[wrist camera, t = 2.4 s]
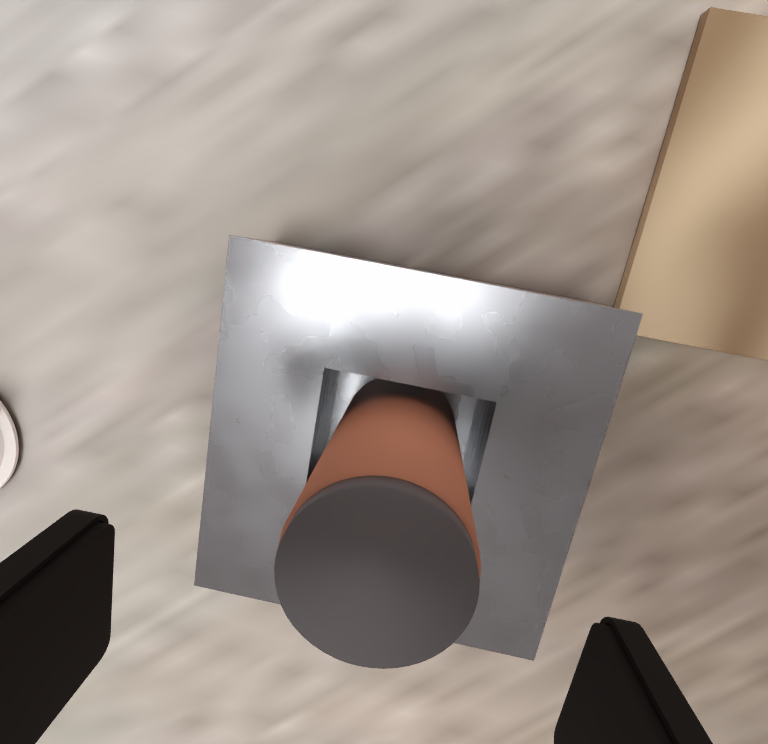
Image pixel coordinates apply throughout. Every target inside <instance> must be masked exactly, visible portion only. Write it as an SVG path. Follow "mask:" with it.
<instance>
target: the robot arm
mask: <svg viewBox="0 0 768 744" xmlns="http://www.w3.org/2000/svg"><path fill="white" fill-rule="evenodd" d="M114 539H115V529H114V526H113V525H110V524H108V519H107V517H106V516H105V515H101V514H97V513H92V512H87V511H82V510H72V511H70V512H68V513H67V514H65V515H64V516H63V517H61V518H60V519H59V520H57V521H56V522H55V523H53V524H52V525H51V526H49V527H48V528H47V529H45V530H44V531H42V532H41V533H40V534H38V535H37V536H36V537H34V538H33V539H32V540H30V541H29V542H28V543H26V544H25V545H24V546H22V547H21V548H20V549H18V550H17V551H16V552H14V553H13V554H11V555H10V556H9V557H7V558H6V559H5V560H3V561H2V562H1V563H0V744H35V743H36V742H37V741H38V739H39V738H40V737H41V736H42V734H43V733H44V732H45V730H46V729H47V728H48V727H49V725H50V724H51V723H52V721H53V720H54V719H55V718H56V716H57V715H58V714H59V712H60V711H61V710H62V709H63V707H64V706H65V705H66V703H67V702H68V701H69V700H70V698H71V697H72V696H73V694H74V693H75V692H76V691H77V689H78V688H79V687H80V685H81V684H82V683H83V682H84V680H85V679H86V678H87V677H88V675H89V674H90V673H91V671H92V670H93V669H94V668H95V666H96V665H97V664H98V662H99V661H100V660H101V658H102V657H103V655H104V653H105V651H106V649H107V647H108V644H109V641H110V633H111V610H112V586H113V563H114ZM554 744H713V743H712V742H711V740H710V738H709V737H708V735H707V733H706V732H705V730H704V728H703V727H702V725H701V723H700V722H699V720H698V719H697V717H696V715H695V714H694V712H693V710H692V709H691V707H690V705H689V704H688V702H687V700H686V699H685V697H684V695H683V694H682V692H681V691H680V689H679V687H678V686H677V684H676V682H675V681H674V679H673V677H672V676H671V674H670V672H669V671H668V669H667V667H666V666H665V664H664V662H663V661H662V659H661V658H660V656H659V654H658V653H657V651H656V649H655V648H654V646H653V644H652V643H651V641H650V639H649V638H648V636H647V634H646V633H645V631H644V630H643V628H642V627H641V626H640V624H638V623H636V622H631V621H626V620H621V619H616V618H612V617H604V618H603V619H602V620H601V622H600V623H594V624H593V625H592V627H591V629H590V631H589V634H588V637H587V640H586V643H585V646H584V648H583V651H582V654H581V657H580V660H579V663H578V665H577V668H576V671H575V674H574V677H573V680H572V682H571V685H570V688H569V691H568V694H567V697H566V699H565V702H564V705H563V708H562V711H561V713H560V716H559V719H558V722H557V725H556V728H555V732H554Z"/></svg>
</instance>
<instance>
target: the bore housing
mask: <svg viewBox="0 0 768 744" xmlns="http://www.w3.org/2000/svg"><path fill="white" fill-rule="evenodd" d="M642 315H643V314H642V313H638V312H634V311H629V310H625V309H621V308H616V307H612V306H608V305H603V304H599V303H595V302H590V301H585V300H580V299H574V298H569V297H564V296H559V295H553V294H548V293H543V292H537V291H532V290H527V289H522V288H516V287H511V286H506V285H501V284H495V283H490V282H485V281H479V280H474V279H469V278H464V277H458V276H453V275H448V274H442V273H437V272H432V271H427V270H421V269H416V268H411V267H406V266H400V265H395V264H390V263H384V262H379V261H374V260H369V259H363V258H358V257H353V256H347V255H342V254H337V253H332V252H326V251H321V250H316V249H311V248H305V247H300V246H295V245H289V244H284V243H279V242H273V241H266V240H259V239H252V238H245V237H238V236H231V235H229V245H228V255H227V264H226V274H225V284H224V294H223V304H222V314H221V324H220V334H219V344H218V354H217V364H216V374H215V384H214V394H213V404H212V413H211V423H210V433H209V443H208V453H207V463H206V473H205V483H204V493H203V503H202V513H201V523H200V533H199V543H198V552H197V562H196V572H195V582H194V585H195V586H200V587H204V588H209V589H213V590H218V591H222V592H227V593H231V594H236V595H240V596H245V597H249V598H254V599H258V600H263V601H267V602H272V603H276V604H281V603H280V601H279V598H278V595H277V591H276V587H275V579H274V565H275V557H276V553H277V549H278V544H279V540H280V535H281V532H282V529H283V527H284V524H285V522H286V520H287V518H288V516H289V514H290V513H291V511H292V509H293V507H294V505H295V503H296V501H297V500H298V498H299V496H300V494H301V492H302V490H303V488H304V487H305V485H306V483H307V481H308V479H309V477H310V476H311V474H312V472H313V470H314V468H315V466H316V464H317V463H318V461H319V459H320V457H321V455H322V453H323V452H324V450H325V448H326V446H327V444H328V442H329V440H330V439H331V437H332V435H333V433H334V431H335V429H336V428H337V426H338V424H339V422H340V420H341V418H342V416H343V415H344V413H345V411H346V409H347V407H348V405H349V404H350V402H351V400H352V398H353V397H354V395H355V394H356V393H357V392H358V391H359V390H360V389H361V388H362V387H363V386H364V385H366V384H367V383H368V382H370V381H372V380H374V379H376V378H378V379H383V380H388V381H393V382H398V383H403V384H408V385H413V386H419V387H424V388H429V389H434V390H439V391H440V392H441V393H442V394H443V395H444V396H445V398H446V399H447V401H448V402H449V404H450V406H451V409H452V411H453V414H454V418H455V424H456V429H457V434H458V439H459V445H460V450H461V455H462V461H463V466H464V471H465V477H466V482H467V487H468V493H469V498H470V503H471V508H472V514H473V519H474V524H475V530H476V535H477V540H478V546H479V551H480V559H481V577H480V586H479V597H478V602H477V606H476V609H475V612H474V614H473V617H472V619H471V620H470V622H469V624H468V626H467V627H466V629H465V630H464V632H463V633H462V634H461V636H460V637H459V638H458V639H457V640H456V641H455V642H454V643H457V644H461V645H466V646H470V647H475V648H479V649H484V650H489V651H493V652H498V653H502V654H507V655H511V656H516V657H520V658H525V659H529V660H534V658H535V655H536V652H537V649H538V646H539V642H540V639H541V636H542V633H543V630H544V627H545V623H546V620H547V617H548V614H549V611H550V608H551V604H552V601H553V598H554V595H555V592H556V588H557V585H558V582H559V579H560V576H561V573H562V569H563V566H564V563H565V560H566V557H567V554H568V550H569V547H570V544H571V541H572V538H573V535H574V531H575V528H576V525H577V522H578V519H579V515H580V512H581V509H582V506H583V503H584V500H585V496H586V493H587V490H588V487H589V484H590V481H591V477H592V474H593V471H594V468H595V465H596V461H597V458H598V455H599V452H600V449H601V446H602V442H603V439H604V436H605V433H606V430H607V427H608V423H609V420H610V417H611V414H612V411H613V408H614V404H615V401H616V398H617V395H618V392H619V388H620V385H621V382H622V379H623V376H624V373H625V369H626V366H627V363H628V360H629V357H630V354H631V350H632V347H633V344H634V341H635V338H636V334H637V331H638V328H639V325H640V322H641V319H642Z"/></svg>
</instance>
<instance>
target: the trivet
mask: <svg viewBox="0 0 768 744" xmlns="http://www.w3.org/2000/svg"><path fill="white" fill-rule="evenodd" d="M614 307H616V308H621V309H625V310H629V311H634V312H638V313H642V314H643V315H642V319H641V322H640V325H639V328H638V331H637V334H636V335H638V336H643V337H648V338H653V339H659V340H664V341H669V342H674V343H679V344H685V345H690V346H695V347H700V348H706V349H711V350H716V351H721V352H726V353H732V354H737V355H742V356H747V357H753V358H758V359H763V360H768V16H762V15H755V14H749V13H743V12H737V11H731V10H725V9H718V8H712V7H710V8H709V9H708V10H707V11H706V12H705V13H703V14H702V15H701V17H700V21H699V24H698V27H697V31H696V34H695V37H694V41H693V44H692V48H691V51H690V54H689V58H688V61H687V64H686V68H685V71H684V74H683V78H682V81H681V84H680V88H679V91H678V94H677V98H676V101H675V104H674V108H673V111H672V114H671V118H670V121H669V124H668V128H667V131H666V134H665V138H664V141H663V144H662V148H661V151H660V155H659V158H658V161H657V165H656V168H655V171H654V175H653V178H652V181H651V185H650V188H649V191H648V195H647V198H646V201H645V205H644V208H643V211H642V215H641V218H640V221H639V225H638V228H637V231H636V235H635V238H634V241H633V245H632V248H631V251H630V255H629V258H628V261H627V265H626V268H625V272H624V275H623V278H622V282H621V285H620V288H619V292H618V295H617V298H616V302H615V305H614Z"/></svg>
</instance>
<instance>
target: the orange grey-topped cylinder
mask: <svg viewBox="0 0 768 744" xmlns="http://www.w3.org/2000/svg"><path fill="white" fill-rule="evenodd" d="M480 577H481V559H480V551H479V546H478V540H477V535H476V530H475V524H474V519H473V514H472V508H471V503H470V498H469V493H468V487H467V482H466V477H465V471H464V466H463V461H462V455H461V450H460V445H459V439H458V434H457V429H456V424H455V418H454V414H453V411H452V409H451V406H450V404H449V402H448V401H447V399H446V398H445V396H444V395H443V394H442V393H441V392H440V391H439V390H434V389H429V388H424V387H419V386H413V385H408V384H403V383H398V382H393V381H388V380H383V379H378V378H376V379H374V380H372V381H370V382H368V383H367V384H366V385H364V386H363V387H362V388H361V389H360V390H359V391H358V392H357V393H356V394H355V395H354V397H353V398H352V400H351V402H350V404H349V405H348V407H347V409H346V411H345V413H344V415H343V416H342V418H341V420H340V422H339V424H338V426H337V428H336V429H335V431H334V433H333V435H332V437H331V439H330V440H329V442H328V444H327V446H326V448H325V450H324V452H323V453H322V455H321V457H320V459H319V461H318V463H317V464H316V466H315V468H314V470H313V472H312V474H311V476H310V477H309V479H308V481H307V483H306V485H305V487H304V488H303V490H302V492H301V494H300V496H299V498H298V500H297V501H296V503H295V505H294V507H293V509H292V511H291V513H290V514H289V516H288V518H287V520H286V522H285V524H284V527H283V529H282V532H281V535H280V540H279V544H278V549H277V553H276V557H275V565H274V579H275V587H276V591H277V595H278V598H279V601H280V603H281V606H282V608H283V610H284V612H285V614H286V616H287V617H288V619H289V620H290V622H291V623H292V624H293V626H294V627H295V628H296V629H297V630H298V632H299V633H300V634H301V635H302V636H303V637H304V638H305V639H307V640H308V641H309V642H310V643H311V644H312V645H314V646H315V647H317V648H318V649H320V650H321V651H323V652H324V653H326V654H328V655H330V656H332V657H334V658H336V659H339V660H341V661H344V662H347V663H350V664H354V665H357V666H363V667H369V668H382V669H385V668H399V667H405V666H410V665H413V664H417V663H420V662H423V661H425V660H427V659H430V658H432V657H434V656H436V655H437V654H439V653H441V652H442V651H444V650H445V649H446V648H448V647H449V646H450V645H452V644H453V643H454V642H455V641H456V640H457V639H458V638H459V637H460V636H461V634H462V633H463V632H464V630H465V629H466V627H467V626H468V624H469V622H470V620H471V619H472V617H473V614H474V612H475V609H476V606H477V602H478V597H479V586H480Z"/></svg>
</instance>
